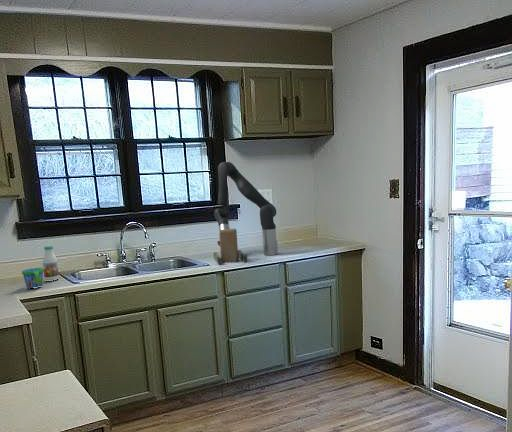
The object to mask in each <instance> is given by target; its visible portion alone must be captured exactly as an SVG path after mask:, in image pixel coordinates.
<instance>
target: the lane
mask: <svg viewBox="0 0 512 432" xmlns="http://www.w3.org/2000/svg"><path fill="white" fill-rule="evenodd" d="M213 259H214V261H215V262H216V263H217V265H218V266H223V262H222V259H221V255H219V254H218V252H215V251H214V252H213ZM238 259H240V260H241V261H242V262H243V263H244V264H246V263H248V256H247V255H246V254H245V252H243V251H242V250H241V249H238Z"/></svg>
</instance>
